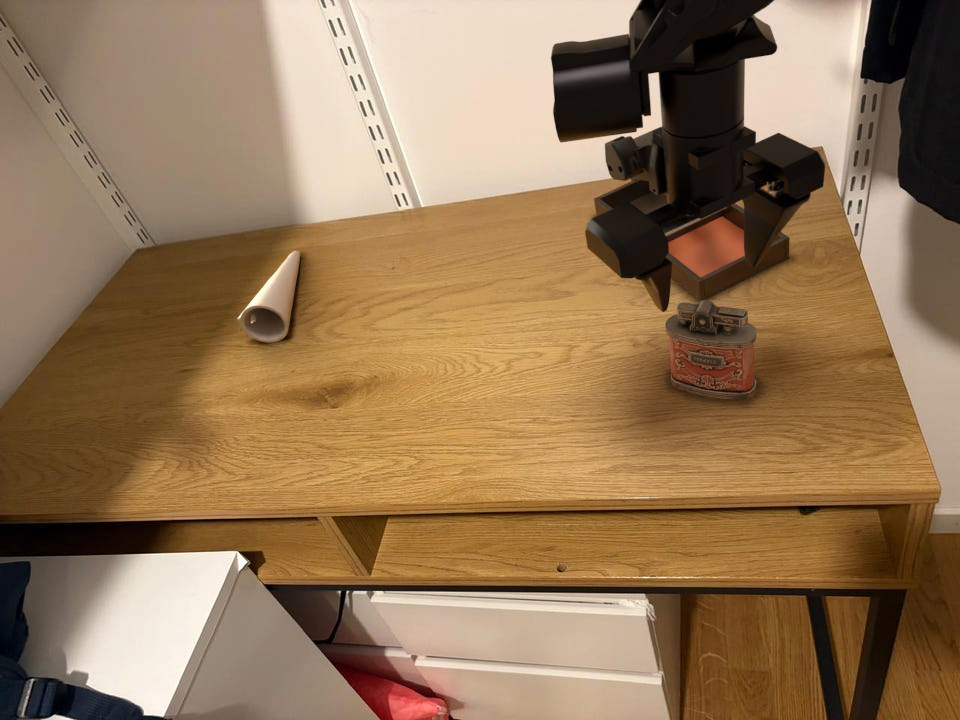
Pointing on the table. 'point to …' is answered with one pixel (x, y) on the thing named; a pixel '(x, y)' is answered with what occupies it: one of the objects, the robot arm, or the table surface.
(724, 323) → the lighter
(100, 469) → the table surface
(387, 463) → the table surface
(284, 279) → the long tapered cone
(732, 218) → the divided tray
